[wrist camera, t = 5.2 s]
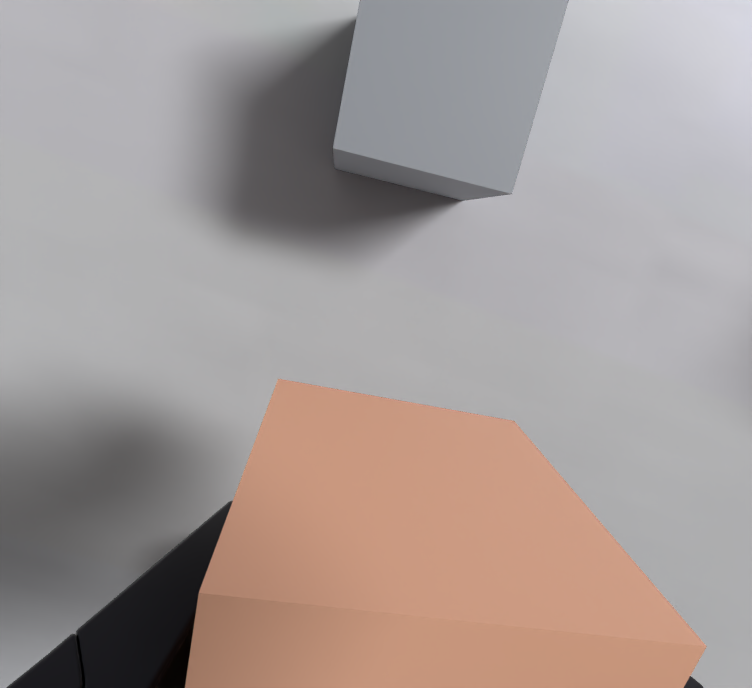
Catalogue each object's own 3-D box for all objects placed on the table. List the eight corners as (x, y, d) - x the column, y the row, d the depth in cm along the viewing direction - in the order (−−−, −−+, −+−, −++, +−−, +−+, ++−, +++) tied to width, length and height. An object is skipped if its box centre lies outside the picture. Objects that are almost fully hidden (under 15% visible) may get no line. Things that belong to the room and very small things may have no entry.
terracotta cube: (451, 604, 10) (545, 932, 6) (242, 581, 10) (148, 933, 5) (514, 421, 9) (706, 646, 4) (278, 378, 8) (198, 592, 4)
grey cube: (462, 200, 17) (511, 193, 12) (334, 169, 16) (332, 148, 11) (500, 56, 15) (573, -17, 10) (363, 15, 15) (375, -84, 10)
